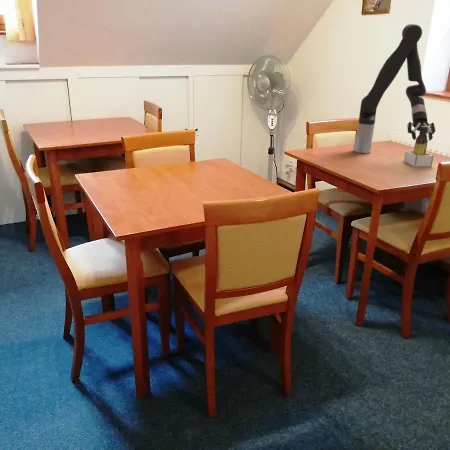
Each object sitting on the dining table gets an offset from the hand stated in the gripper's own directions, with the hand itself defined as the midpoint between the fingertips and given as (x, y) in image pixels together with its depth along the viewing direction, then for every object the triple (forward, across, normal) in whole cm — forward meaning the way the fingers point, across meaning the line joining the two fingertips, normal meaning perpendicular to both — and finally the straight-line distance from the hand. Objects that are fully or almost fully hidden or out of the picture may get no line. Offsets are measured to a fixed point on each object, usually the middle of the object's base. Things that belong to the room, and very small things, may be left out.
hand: (422, 139), depth 251 cm
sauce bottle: (+8, 0, +10) cm, 13 cm away
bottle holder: (+9, 0, +10) cm, 14 cm away
